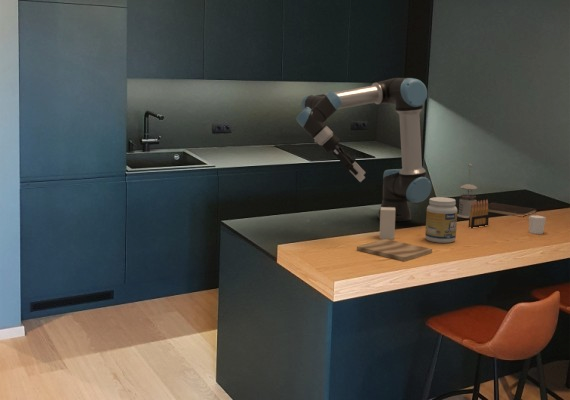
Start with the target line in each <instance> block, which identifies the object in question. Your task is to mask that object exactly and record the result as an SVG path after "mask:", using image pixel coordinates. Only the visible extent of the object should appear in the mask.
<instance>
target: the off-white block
mask: <svg viewBox="0 0 570 400" xmlns="http://www.w3.org/2000/svg"><path fill="white" fill-rule="evenodd" d="M380 207H381V206H380ZM379 210H380V219H379V239H380V240H383V239H388V240H395V235H396V233H395V231H396V230H395V229H396V221H395V208H392V207H381V209H380V208H379Z"/></svg>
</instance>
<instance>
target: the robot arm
mask: <svg viewBox="0 0 570 400" xmlns="http://www.w3.org/2000/svg"><path fill="white" fill-rule="evenodd" d="M427 97H428V89H427V87H426V85H425V83H424V82H422V81H421V80H420V79H417V78H414V77H393V78H390V79H386V80H381V81H378V82H377V81H376V82H373V83H372V84H371V85H368V86H362V87H356V88H350V89H345V90H339V91H330V92H328V93H323V94H322V93H321V94H316V95H312V94H311V95H306V96H305V97H303V98H302V100H301V105H300V106H301V109H302V111H301V112H300V113H299V114H297V116H296V118H295V119H296V122H297V123H298V124H299V125H300V126H301V128H303V130H304V131H305V132H306V133H307V134H308V135H309V136H310V137H311V138H312V139H314V140H313V141H314V143H317V144H318V145H319V146H321V148H322V149H323V150H324V151H325V153H329V152H330V151H332V154H333V156H335V157H336V158H337V159H338V160H339V162H340V163H341V164H342V165H343V166H344V167H345V171H346V172H350V174H352V175H353V176H354V178H356V180H358V182H360V183H362V181H363V180H365V179H366V176H365V174H366V171H365V170H364V169H363V168H362V167H361V166H360V165H359V164H358V163H357V162H356V161H357V159H356V158H353V157H352V156H351V155H350V154H349V153H347V151H346V150H344V148H343V147H342V146H341V145H340V144H339V143H340V142H341V140H340V138H339V137H338V136H337V135H336V134H334V131H332V129H331V128H329V127H328V126H327V124H325V122H326V121H328V119H330V117H332V115H333V114H335V113H336V112H337V111H338V110H340V109H346V108H352V107H357V106H363V105H368V104H376V105H381V104H382V105H383V104H385V105H386V104H388V105H389V104H390V105H395V106H394V108H395V112H396V113H397V114H398V116H399V131H400V132H399V133H400V148H401V149H400V151H401V167H402V168H396V169H395V168H393V169H386V170H384V172H383V175H382V176H383V177H382V202H381V205H380V207H379V210H378V213H377V218H378V219H379V220H380V209H381V207H392V208H395V222H407V221H410V220H411V219H412V213H411V209H410V205H409V202H411V203H422V202H424V201H426V200H427V199H428V197H429V196H430V195H431V192H432V188H433V187H432V182H431V180H430V179H429V178H427V172H426V169H425V168H424V167H423V162H422V160H423V159H422V141H421V140H422V137H421V123H420V122H421V120H420V113H421V112H422V111H423V110H424V107H423V105H424V103H426V102H425V101H426V100H427V99H428V98H427Z"/></svg>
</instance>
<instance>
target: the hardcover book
mask: <svg viewBox="0 0 570 400" xmlns="http://www.w3.org/2000/svg"><path fill="white" fill-rule="evenodd" d="M534 212H535V213H537V208H531V207H524V206H520V205H519V206H518V205H511V204H505V203H498V202H491V203H490V202H489V203H488V213H495V214H501V215H508V216H513V215H525V214H529V215H531V214H530V213H532V214H535V213H534Z"/></svg>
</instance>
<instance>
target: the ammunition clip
mask: <svg viewBox="0 0 570 400" xmlns="http://www.w3.org/2000/svg"><path fill="white" fill-rule="evenodd" d="M488 204H489V201H488V199H486V200H485V199H483V200H482V199H481V200H478V201H477V202H476V201H475V204H474V202H472V205H471V211H470V216H469V218H468V228H469V227H471V228H470V229H474V228H473V227H478V228H480V227H479V226H484V227H486V226H485V225H488V226H489V216H490V215H489V212H488Z"/></svg>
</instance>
